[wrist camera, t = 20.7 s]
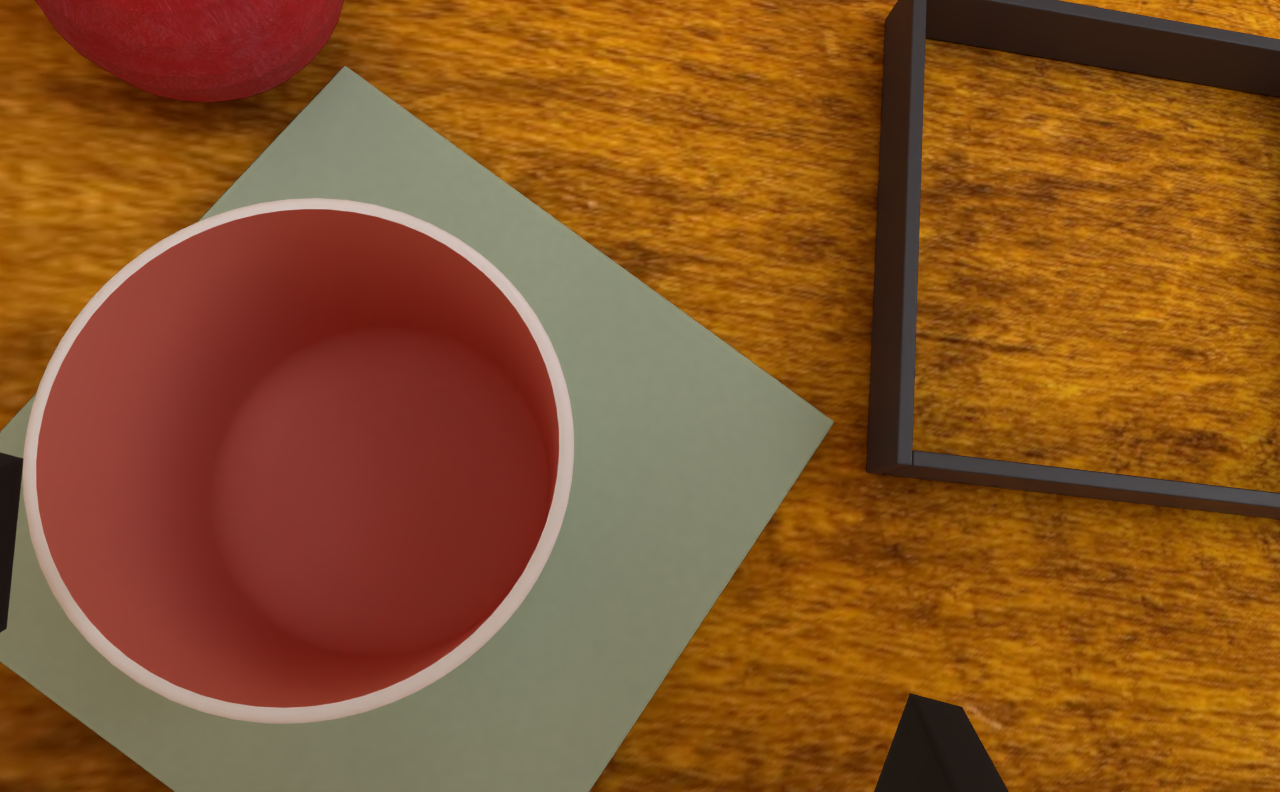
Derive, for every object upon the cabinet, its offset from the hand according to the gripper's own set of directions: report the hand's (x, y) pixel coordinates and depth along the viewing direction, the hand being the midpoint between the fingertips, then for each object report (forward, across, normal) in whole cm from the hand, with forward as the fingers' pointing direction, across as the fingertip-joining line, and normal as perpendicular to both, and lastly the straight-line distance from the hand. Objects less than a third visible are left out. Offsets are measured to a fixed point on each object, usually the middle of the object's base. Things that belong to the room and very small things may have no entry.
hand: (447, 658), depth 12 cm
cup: (+13, -5, -3) cm, 14 cm away
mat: (+14, -5, -3) cm, 15 cm away
